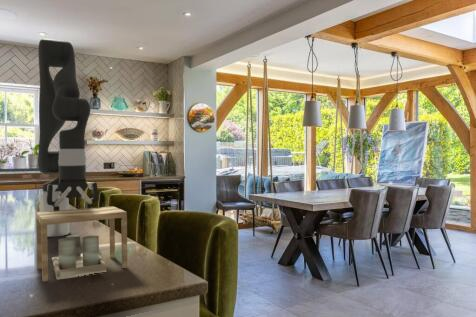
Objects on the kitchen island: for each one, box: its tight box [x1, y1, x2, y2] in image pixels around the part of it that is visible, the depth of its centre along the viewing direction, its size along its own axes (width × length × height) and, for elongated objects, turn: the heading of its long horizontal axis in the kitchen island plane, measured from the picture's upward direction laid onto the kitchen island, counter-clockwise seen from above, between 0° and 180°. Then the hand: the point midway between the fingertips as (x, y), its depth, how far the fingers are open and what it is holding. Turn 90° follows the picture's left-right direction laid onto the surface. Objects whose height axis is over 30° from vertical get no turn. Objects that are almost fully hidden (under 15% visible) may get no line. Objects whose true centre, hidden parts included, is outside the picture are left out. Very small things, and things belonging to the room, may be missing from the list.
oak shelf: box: [35, 206, 129, 283], centre depth 110 cm, size 14×21×16 cm, turn 122°
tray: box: [51, 234, 107, 280], centre depth 113 cm, size 22×12×9 cm, turn 28°
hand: (73, 217), depth 121 cm, fingers open, 8 cm apart
